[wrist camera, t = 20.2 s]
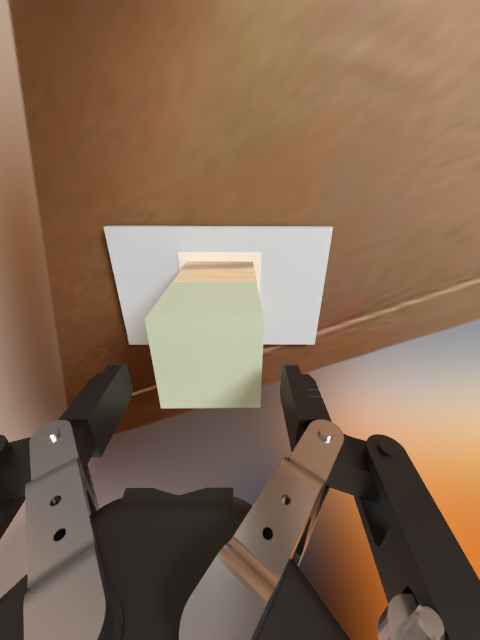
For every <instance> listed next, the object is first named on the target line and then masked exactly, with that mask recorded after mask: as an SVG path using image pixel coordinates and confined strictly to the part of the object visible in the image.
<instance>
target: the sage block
mask: <svg viewBox="0 0 480 640" xmlns="http://www.w3.org/2000/svg"><path fill="white" fill-rule="evenodd" d="M144 320H145V325H146V330H147V336H148V341H149V347H150V352H151V357H152V363H153V368H154V373H155V379H156V384H157V389H158V395H159V400H160V405H161V408H254V407H256V408H260V401H261V379H262V357H263V334H264V315H263V311H262V306H261V301H260V296H259V292H258V287H257V282H171V284H170V285H169V287H168V288H167V289H166V291H165V292H164V293H163V295H162V296H161V297H160V299H159V300H158V302H157V303H156V304H155V306H154V307H153V308H152V310H151V311H150V312H149V314H148V315H147V317H146V318H145V319H144Z"/></svg>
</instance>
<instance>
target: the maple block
mask: <svg viewBox="0 0 480 640" xmlns="http://www.w3.org/2000/svg"><path fill="white" fill-rule="evenodd" d="M173 282H257V278H256V274H255V269H254V265H253V262H241V261H187V262H186V264H185V265H184V267H183V268H182V269H181V271H180V272H179V273H178V275H177V276H176V277H175V279H174V280H173Z"/></svg>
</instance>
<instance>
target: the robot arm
mask: <svg viewBox="0 0 480 640" xmlns="http://www.w3.org/2000/svg"><path fill="white" fill-rule="evenodd" d="M132 393H133V387H132V383H131V379H130V374H129V370H128V366H127V365H126V364H109V365H108V366H107V368H106V369H105V370H104V372H103V373H102V374H97V375H96V376H95V377H93V378H92V379H91V380H89V381H88V383H87V384H86V385H85V386H84V388H83V390H81V392H80V393H79V394H78V397H76V398H75V399H74V401H73V402H72V403H71V404H70V406H69V407H68V408H67V410H66V411H65V412H64V413H63V415H62V416H61V417H60V419H59V420H57V421H53V422H50V423H48V424H46V425H44V426H42V427H41V428H40V429H38V430H37V431H36V432H35V433H34V434H33V435H32V437H30V438H26V439H22V440H18V441H14V442H10V443H9V442H8V441H7V439H6V437H5V436H3V435H0V539H1V537H2V536H3V534H4V532H5V531H6V529H7V528H8V526H9V525H10V523H11V521H12V520H13V518H14V516H15V515H16V513H17V512H18V510H19V509H20V507H21V505H22V503H23V502H24V501H26V535H27V536H26V538H27V575H25V576H24V577H23V578H22V579H21V580H20V581H19V582H18V583H17V584H16V585H15V586H14V587H12V588H11V589H10V590H9V591H8V592H7V593H6V594H5V595H4V596H3V597H1V598H0V640H351V639H350V638H349V636H348V635H347V633H346V632H345V631H344V629H343V628H342V626H341V625H340V624H339V622H338V621H337V619H336V618H335V617H334V615H333V614H332V612H331V611H330V610H329V608H328V607H327V605H326V604H325V603H324V601H323V600H322V598H321V597H320V596H319V594H318V593H317V591H316V590H315V589H314V587H313V586H312V585H311V583H310V582H309V580H308V579H307V577H306V576H305V575H304V573H303V572H302V570H301V569H300V568H299V564H300V561H301V559H302V556H303V554H304V552H305V549H306V547H307V544H308V542H309V539H310V536H311V533H312V530H313V527H314V525H315V522H316V520H317V518H318V515H319V513H320V511H321V508H322V506H323V503H324V501H325V499H326V496H327V494H328V492H329V489H330V488H333V489H337V490H339V491H342V492H345V493H348V494H351V495H354V498H355V501H356V504H357V507H358V511H359V514H360V517H361V520H362V523H363V526H364V529H365V532H366V535H367V538H368V542H369V544H370V548H371V551H372V554H373V557H374V560H375V564H376V567H377V570H378V573H379V576H380V579H381V582H382V585H383V588H384V592H385V595H386V598H387V601H388V605H387V607H386V608H385V609H384V611H383V612H382V614H381V615H380V617H379V620H378V625H377V635H378V640H480V580H479V578H478V577H477V575H476V573H475V571H474V570H473V568H472V566H471V565H470V563H469V561H468V559H467V557H466V556H465V554H464V552H463V550H462V549H461V547H460V545H459V543H458V542H457V540H456V538H455V537H454V535H453V533H452V531H451V529H450V528H449V526H448V524H447V522H446V521H445V519H444V517H443V515H442V514H441V512H440V510H439V509H438V507H437V505H436V503H435V502H434V500H433V498H432V496H431V495H430V493H429V491H428V489H427V488H426V486H425V484H424V482H423V481H422V479H421V477H420V475H419V474H418V472H417V470H416V468H415V467H414V465H413V463H412V461H411V460H410V458H409V457H408V455H407V453H406V451H405V449H404V448H403V447H402V446H401V445H400V444H399V443H398V442H397V441H395V440H394V439H392V438H390V437H388V436H384V435H378V434H377V435H372V436H370V437H369V438H368V440H367V441H363V440H360V439H356V438H352V437H350V436H347V435H345V434H343V433H342V431H341V429H340V428H339V427H338V426H337V425H335V424H334V423H332V421H331V419H330V417H329V414H328V411H327V409H326V407H325V404H324V402H323V399H322V397H321V394H320V392H319V390H318V387H317V385H316V382H315V380H314V379H313V378H312V377H311V376H310V375H308V374H301V372H300V369H299V366H298V364H283V366H282V375H281V385H280V396H281V403H282V407H283V412H284V417H285V422H286V427H287V431H288V437H289V442H290V447H291V451H292V454H291V455H290V456H289V458H286V457H285V458H284V459H283V460H282V461H281V462H280V464H279V465H278V467H277V469H276V470H275V472H274V473H273V475H272V476H271V478H270V480H269V481H268V483H267V484H266V486H265V487H264V489H263V491H262V492H261V494H260V495H259V497H258V498H257V500H256V501H255V503H254V504H253V506H252V505H251V504H249V503H247V502H246V501H244V500H242V499H240V498H236V497H233V488H204V489H201V490H197V491H194V492H190V493H186V494H183V495H174V494H171V493H167V492H164V491H161V490H157V489H154V488H126V490H125V492H124V496H123V498H121V499H118V500H115V501H113V502H111V503H109V504H107V505H105V506H103V507H102V508H99V505H98V501H97V497H96V494H95V490H94V486H93V482H92V478H91V474H90V470H89V467H88V462H89V460H90V458H91V457H102V455H103V453H104V451H105V449H106V447H107V445H108V443H109V441H110V440H111V438H112V436H113V434H114V432H115V430H116V428H117V426H118V424H119V422H120V420H121V418H122V416H123V414H124V412H125V410H126V408H127V406H128V404H129V402H130V400H131V398H132Z"/></svg>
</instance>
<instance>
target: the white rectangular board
mask: <svg viewBox="0 0 480 640" xmlns="http://www.w3.org/2000/svg"><path fill="white" fill-rule="evenodd" d="M332 230H333V227H330V226H104V232H105V236H106V241H107V245H108V250H109V254H110V259H111V263H112V268H113V273H114V277H115V282H116V286H117V291H118V295H119V300H120V304H121V309H122V313H123V318H124V323H125V327H126V332H127V336H128V341H129V345H149V341H148V336H147V330H146V325H145V320H144V319H145V318H146V317H147V315H148V314H149V312H150V311H151V310H152V308H153V307H154V306H155V304H156V303H157V302H158V300H159V299H160V297H161V296H162V295H163V293H164V292H165V291H166V289H167V288H168V287H169V285H170V284H171V282H173V280H174V279H175V277H176V276H177V275H178V273H179V272H180V271H181V269H182V268H183V267H184V265H185V264H186V262H187V261H241V262H253V265H254V269H255V274H256V278H257V287H258V292H259V296H260V301H261V306H262V311H263V315H264V334H263V344H315V339H316V332H317V326H318V320H319V313H320V307H321V300H322V294H323V288H324V281H325V275H326V269H327V262H328V256H329V249H330V243H331V237H332Z"/></svg>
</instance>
